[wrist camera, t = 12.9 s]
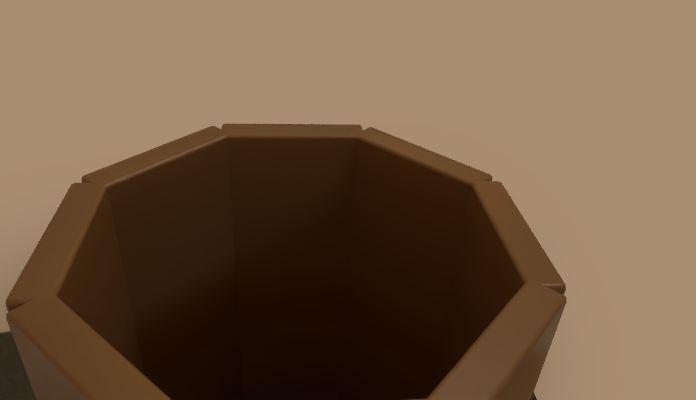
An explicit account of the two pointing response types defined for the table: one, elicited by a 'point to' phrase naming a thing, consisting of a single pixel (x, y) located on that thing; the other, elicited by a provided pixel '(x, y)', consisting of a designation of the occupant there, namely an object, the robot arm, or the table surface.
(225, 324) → the wooden octagonal cup
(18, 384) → the table surface
